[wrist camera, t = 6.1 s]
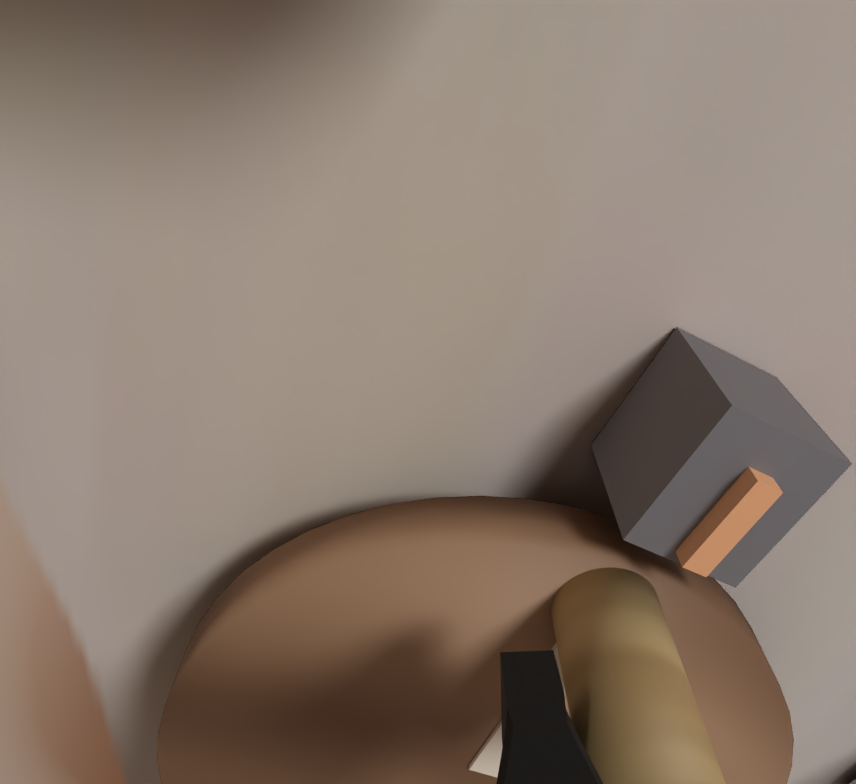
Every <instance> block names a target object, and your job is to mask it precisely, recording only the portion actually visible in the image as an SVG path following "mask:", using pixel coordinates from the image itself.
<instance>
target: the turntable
mask: <svg viewBox="0 0 856 784" xmlns="http://www.w3.org/2000/svg"><path fill="white" fill-rule="evenodd" d="M545 650H553V651H554V655H555V659H556V662H557V666H558V670H559V674H560V678H561V682H562V686H563V690H564V696H565V706H566V710H567V712H568V714H569V716H570V719H571V721H572V723H573V725H574V727H575V729H576V732H577V734H578V736H579V738H580V740H581V742H582V744H583V746H584V748H585V750H586V752H587V754H588V755H589V757H590V759H591V761H592V763H593V765H594V767H595V769H596V771H597V772H598V774H599V776H600V778H601V780H602V782H603V784H787V782H788V778H789V774H790V771H791V767H792V756H793V741H794V738H793V732H792V725H791V718H790V712H789V709H788V706H787V704H786V701H785V698H784V696H783V693H782V690H781V688H780V685H779V683H778V681H777V679H776V677H775V675H774V673H773V671H772V669H771V667H770V665H769V663H768V661H767V659H766V657H765V654H764V652H763V650H762V648H761V646H760V644H759V642H758V640H757V638H756V636H755V634H754V632H753V630H752V628H751V626H750V625H749V623H748V622H747V620H746V618H745V617H744V615H743V614H742V612H741V610H740V609H739V607H738V605H737V604H736V602H735V601H734V600H733V599H732V598H731V597H730V595H729V594H728V593H727V592H726V591H725V590H724V589H723V588H722V587H721V585H720V584H719V583H718V582H717V581H716V580H715V579H714V578H712V577H710V576H707V577H704V576H702V575H700V574H697V573H695V572H692V571H690V570H688V569H685V568H683V567H682V566H681V564H679V563H677V562H674V561H672V560H669V559H667V558H665V557H662V556H660V555H658V554H655V553H653V552H650V551H648V550H646V549H643V548H641V547H639V546H636V545H634V544H632V543H629V542H627V541H624V540H623V538H622V535H621V532H620V529H619V526H618V523H617V520H616V519H613V518H610V517H606V516H603V515H599V514H596V513H592V512H589V511H586V510H582V509H579V508H575V507H572V506H566V505H560V504H554V503H549V502H543V501H537V500H531V499H522V498H506V497H490V496H468V497H444V498H431V499H424V500H418V501H411V502H404V503H398V504H391V505H387V506H383V507H379V508H375V509H371V510H368V511H364V512H360V513H356V514H353V515H349V516H345V517H343V518H340V519H338V520H335V521H333V522H330V523H328V524H325V525H323V526H320V527H317V528H315V529H312V530H310V531H307V532H305V533H303V534H302V535H300V536H298V537H296V538H294V539H292V540H291V541H289V542H287V543H285V544H283V545H281V546H279V547H278V548H276V549H274V550H272V551H271V552H269V553H268V554H267V555H265V556H264V557H263V558H261V559H260V560H258V561H257V562H256V563H254V564H253V565H252V566H250V567H249V568H247V569H246V570H245V571H243V572H242V573H241V574H240V575H239V576H238V577H237V578H236V579H235V580H234V581H233V582H232V583H231V584H230V585H229V586H228V587H227V588H226V589H225V590H224V591H223V592H222V593H221V594H220V595H219V596H218V597H217V598H216V600H215V601H214V602H213V604H212V605H211V607H210V608H209V609H208V611H207V612H206V613H205V615H204V616H203V618H202V619H201V620H200V622H199V624H198V626H197V628H196V630H195V632H194V634H193V636H192V638H191V640H190V642H189V645H188V647H187V649H186V651H185V654H184V657H183V659H182V662H181V665H180V667H179V670H178V673H177V675H176V678H175V681H174V683H173V686H172V689H171V691H170V694H169V697H168V699H167V702H166V705H165V708H164V712H163V716H162V720H161V724H160V728H159V732H158V754H157V760H158V766H159V772H160V778H161V784H496V783H497V777H498V771H499V766H500V760H501V754H502V748H503V746H502V720H501V667H500V652H519V651H545Z"/></svg>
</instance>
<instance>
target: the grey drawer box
mask: <svg viewBox="0 0 856 784" xmlns="http://www.w3.org/2000/svg"><path fill="white" fill-rule="evenodd" d="M591 446H592V449H593V452H594V455H595V458H596V461H597V464H598V467H599V470H600V473H601V476H602V479H603V482H604V485H605V488H606V491H607V494H608V497H609V500H610V503H611V505H612V508H613V511H614V514H615V517H616V520H617V523H618V526H619V529H620V532H621V535H622V538H623V540H624V541H627V542H629V543H632V544H634V545H636V546H639V547H641V548H643V549H646V550H648V551H650V552H653V553H655V554H658V555H660V556H662V557H665V558H667V559H669V560H672V561H674V562H677V563H679V564H681V566H682V567H683V568H685V569H688V570H690V571H692V572H695V573H697V574H700V575H702V576H704V577H707V576H710V577H712V578H714V579H717V580H719V581H721V582H724V583H726V584H729V585H731V586H733V587H736V586H737V585H738V584H739V583H740V582H741V581H742V580H743V579H744V578H745V577H746V576H747V575H748V574H749V573H750V572H751V570H752V569H753V568H754V567H755V566H756V565H757V564H758V563H759V562H760V561H761V560H762V559H763V558H764V557H765V556H766V555H767V554H768V552H769V551H770V550H771V549H772V548H773V547H774V546H775V545H776V544H777V543H778V542H779V541H780V540H781V539H782V538H783V537H784V535H785V534H786V533H787V532H788V531H789V530H790V529H791V528H792V527H793V526H794V525H795V524H796V523H797V522H798V521H799V520H800V519H801V517H802V516H803V515H804V514H805V513H806V512H807V511H808V510H809V509H810V508H811V507H812V506H813V505H814V504H815V503H816V502H817V500H818V499H819V498H820V497H821V496H822V495H823V494H824V493H825V492H826V491H827V490H828V489H829V488H830V487H831V486H832V485H833V483H834V482H835V481H836V480H837V479H838V478H839V477H840V476H841V475H842V474H843V473H844V472H845V471H846V470H847V469H848V468H849V467H850V465H851V464H852V463H851V462H850V461H849V459H848V458H847V457H846V456H845V455H844V454H843V453H842V451H841V450H840V449H839V448H838V447H837V446H836V445H835V443H834V442H833V441H832V440H831V439H830V438H829V437H828V435H827V434H826V433H825V432H824V431H823V430H822V429H821V427H820V426H819V425H818V424H817V423H816V422H815V421H814V419H813V418H812V417H811V416H810V415H809V414H808V413H807V411H806V410H805V409H804V408H803V407H802V406H801V405H800V403H799V402H798V401H797V400H796V399H795V398H794V397H793V395H792V394H791V393H790V392H789V391H788V390H787V389H786V387H785V386H784V385H783V384H782V383H781V382H780V381H779V379H778V378H777V377H775V376H773V375H771V374H769V373H767V372H765V371H763V370H761V369H759V368H757V367H755V366H753V365H751V364H749V363H747V362H745V361H743V360H741V359H739V358H737V357H735V356H733V355H731V354H729V353H727V352H725V351H723V350H721V349H719V348H717V347H715V346H713V345H711V344H709V343H707V342H705V341H703V340H701V339H699V338H697V337H695V336H693V335H691V334H689V333H687V332H685V331H683V330H681V329H679V328H677V327H676V329H675V330H674V332H673V333H672V334H671V336H670V337H669V338H668V340H667V341H666V343H665V344H664V345H663V347H662V348H661V349H660V351H659V352H658V354H657V355H656V356H655V358H654V359H653V361H652V362H651V363H650V365H649V366H648V367H647V369H646V370H645V372H644V373H643V374H642V376H641V377H640V378H639V380H638V381H637V383H636V384H635V385H634V387H633V388H632V390H631V391H630V392H629V394H628V395H627V396H626V398H625V399H624V401H623V402H622V403H621V405H620V406H619V407H618V409H617V410H616V412H615V413H614V414H613V416H612V417H611V419H610V420H609V421H608V423H607V424H606V425H605V427H604V428H603V430H602V431H601V432H600V434H599V435H598V436H597V438H596V439H595V441H594V442H593V443H592V445H591Z"/></svg>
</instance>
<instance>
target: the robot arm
mask: <svg viewBox="0 0 856 784" xmlns="http://www.w3.org/2000/svg"><path fill="white" fill-rule="evenodd" d="M500 667H501V720H502V746H503V748H502V754H501V760H500V766H499V771H498V777H497V783H496V784H603V782H602V780H601V778H600V776H599V774H598V772H597V771H596V769H595V767H594V765H593V763H592V761H591V759H590V757H589V755H588V754H587V752H586V750H585V748H584V746H583V744H582V742H581V740H580V738H579V736H578V734H577V732H576V729H575V727H574V725H573V723H572V721H571V719H570V716H569V714H568V712H567V710H566V706H565V696H564V690H563V686H562V682H561V678H560V674H559V670H558V666H557V662H556V659H555V655H554V651H553V650H545V651H519V652H500ZM849 784H856V779H854V780H853V781H852V782H851V783H849Z"/></svg>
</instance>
